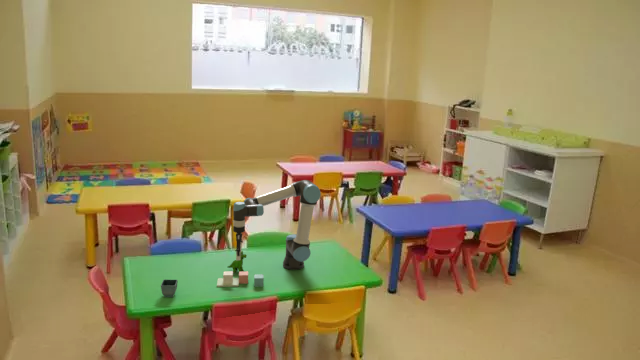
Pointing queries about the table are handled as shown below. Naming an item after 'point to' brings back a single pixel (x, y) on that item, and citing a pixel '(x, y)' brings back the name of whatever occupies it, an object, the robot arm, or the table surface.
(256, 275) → the brick teal
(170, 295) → the flower pot
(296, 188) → the robot arm
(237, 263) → the toy
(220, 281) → the plate
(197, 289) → the table surface
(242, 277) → the brick coral
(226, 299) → the table surface
